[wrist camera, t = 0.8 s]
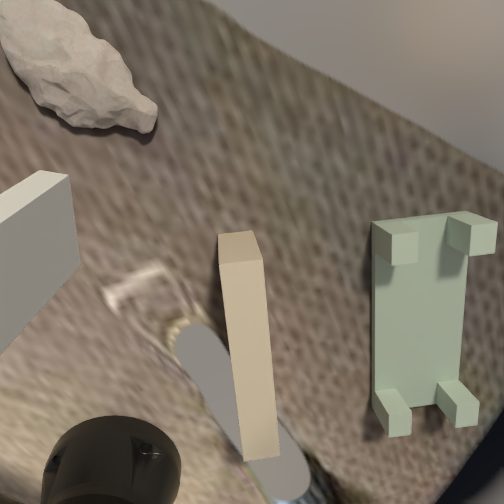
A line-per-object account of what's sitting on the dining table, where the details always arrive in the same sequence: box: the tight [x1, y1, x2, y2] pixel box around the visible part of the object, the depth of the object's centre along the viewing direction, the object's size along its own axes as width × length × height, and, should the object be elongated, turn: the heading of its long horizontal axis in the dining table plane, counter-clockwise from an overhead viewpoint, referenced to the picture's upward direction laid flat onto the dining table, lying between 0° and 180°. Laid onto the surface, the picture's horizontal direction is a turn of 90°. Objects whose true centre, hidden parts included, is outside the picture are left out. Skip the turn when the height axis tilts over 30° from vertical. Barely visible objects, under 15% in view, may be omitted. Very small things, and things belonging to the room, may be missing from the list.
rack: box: [372, 211, 498, 438], centre depth 43 cm, size 23×10×5 cm, turn 5°
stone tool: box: [0, 0, 158, 134], centre depth 34 cm, size 8×3×15 cm
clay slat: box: [218, 231, 280, 462], centre depth 40 cm, size 20×4×9 cm, turn 5°
